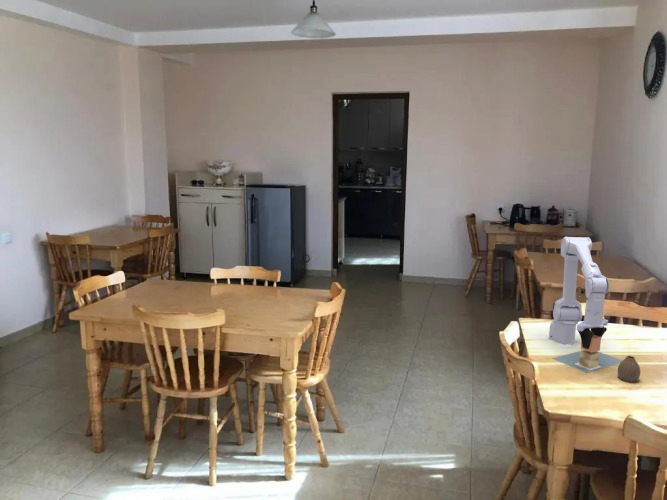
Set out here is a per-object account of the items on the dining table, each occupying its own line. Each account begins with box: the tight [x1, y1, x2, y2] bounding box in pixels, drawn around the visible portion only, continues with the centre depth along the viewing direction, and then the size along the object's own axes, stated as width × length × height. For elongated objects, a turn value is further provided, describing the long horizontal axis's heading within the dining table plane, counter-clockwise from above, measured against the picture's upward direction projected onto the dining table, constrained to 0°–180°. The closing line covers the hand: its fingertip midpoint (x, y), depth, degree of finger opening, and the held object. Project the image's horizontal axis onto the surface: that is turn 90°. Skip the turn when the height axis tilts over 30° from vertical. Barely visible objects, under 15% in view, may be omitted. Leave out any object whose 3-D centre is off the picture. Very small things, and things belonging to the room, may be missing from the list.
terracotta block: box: [580, 334, 602, 353], centre depth 203 cm, size 4×4×5 cm
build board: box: [551, 349, 624, 374], centre depth 210 cm, size 15×22×1 cm
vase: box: [617, 355, 641, 383], centre depth 193 cm, size 7×7×9 cm
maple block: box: [579, 349, 599, 368], centre depth 204 cm, size 4×4×5 cm
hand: (590, 346), depth 203 cm, fingers closed on terracotta block, 4 cm apart
